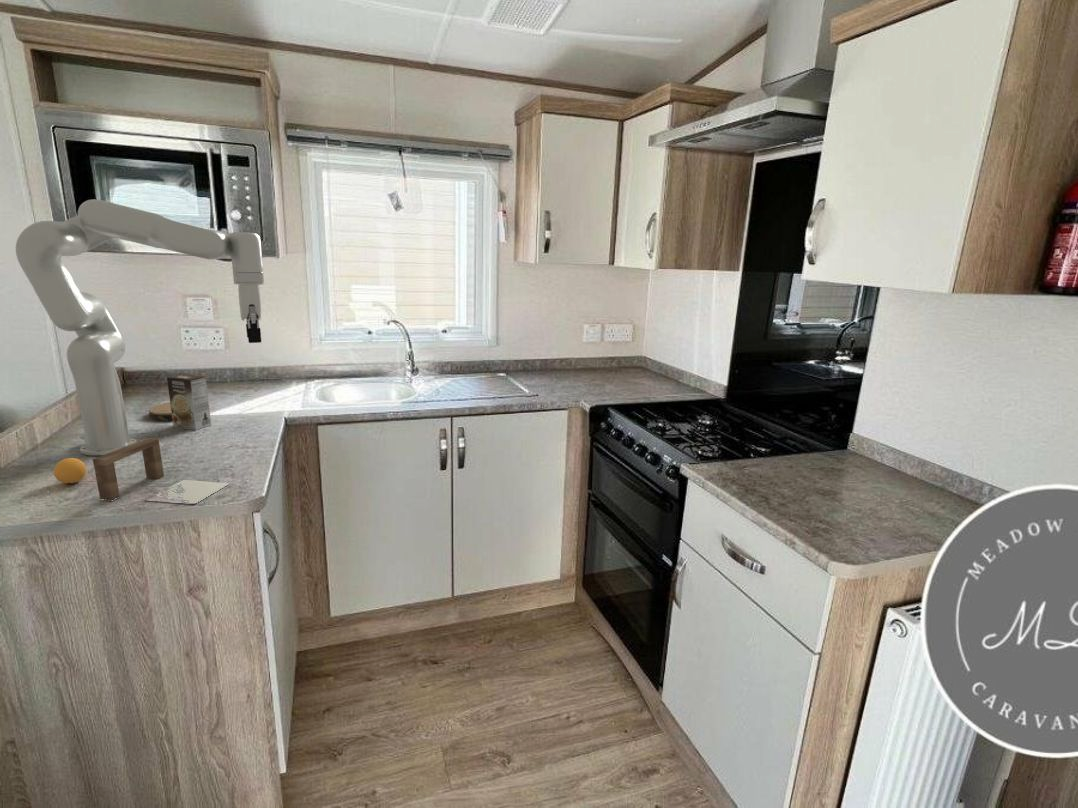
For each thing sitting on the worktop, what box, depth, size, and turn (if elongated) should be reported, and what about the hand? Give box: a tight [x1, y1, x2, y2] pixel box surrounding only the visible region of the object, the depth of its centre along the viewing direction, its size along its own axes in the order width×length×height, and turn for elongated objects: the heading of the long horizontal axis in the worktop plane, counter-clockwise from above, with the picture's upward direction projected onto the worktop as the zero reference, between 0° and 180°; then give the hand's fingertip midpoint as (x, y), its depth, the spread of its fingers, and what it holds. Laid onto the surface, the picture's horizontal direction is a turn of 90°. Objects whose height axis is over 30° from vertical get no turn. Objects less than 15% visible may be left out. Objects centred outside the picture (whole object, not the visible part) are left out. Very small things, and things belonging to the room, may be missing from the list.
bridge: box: [92, 437, 165, 500], centre depth 132 cm, size 3×15×10 cm, turn 172°
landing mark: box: [155, 479, 231, 504], centre depth 132 cm, size 12×12×1 cm
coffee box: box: [166, 372, 212, 431], centre depth 178 cm, size 9×6×16 cm
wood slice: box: [148, 401, 173, 422], centre depth 191 cm, size 16×16×3 cm
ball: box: [53, 457, 88, 484], centre depth 135 cm, size 6×6×6 cm
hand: (254, 340), depth 163 cm, fingers open, 9 cm apart
